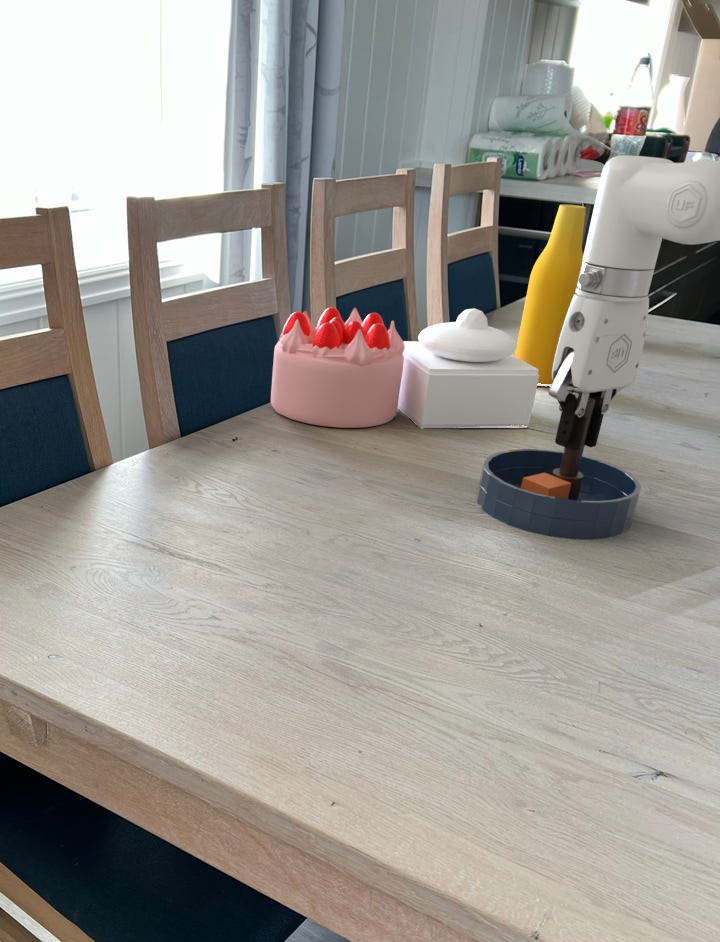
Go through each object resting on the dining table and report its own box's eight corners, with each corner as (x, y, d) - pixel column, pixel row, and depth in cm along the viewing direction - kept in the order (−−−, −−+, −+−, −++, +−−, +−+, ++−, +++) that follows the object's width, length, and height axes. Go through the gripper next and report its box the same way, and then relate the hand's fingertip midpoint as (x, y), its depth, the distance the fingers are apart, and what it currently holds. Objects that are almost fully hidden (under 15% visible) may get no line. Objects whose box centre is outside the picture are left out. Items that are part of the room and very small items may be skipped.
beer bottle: (559, 377, 179) (597, 205, 164) (565, 390, 171) (605, 211, 156) (508, 372, 180) (541, 201, 165) (511, 384, 172) (547, 206, 157)
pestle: (584, 499, 118) (608, 401, 112) (564, 503, 116) (588, 404, 110) (560, 489, 121) (583, 393, 115) (541, 493, 119) (563, 396, 113)
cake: (371, 392, 162) (383, 303, 155) (415, 429, 145) (430, 332, 138) (257, 392, 158) (263, 301, 151) (288, 431, 141) (297, 330, 134)
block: (564, 514, 117) (571, 483, 115) (542, 520, 115) (549, 488, 113) (537, 503, 119) (544, 472, 118) (516, 509, 117) (522, 477, 115)
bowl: (661, 526, 117) (672, 487, 114) (561, 555, 108) (572, 513, 105) (543, 477, 130) (551, 441, 127) (445, 499, 120) (452, 461, 118)
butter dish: (420, 429, 145) (437, 319, 137) (381, 395, 161) (394, 295, 153) (528, 428, 149) (550, 321, 141) (479, 395, 164) (497, 297, 156)
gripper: (594, 292, 99) (554, 464, 108) (687, 285, 108) (643, 446, 117) (537, 279, 105) (504, 444, 114) (630, 273, 113) (592, 428, 122)
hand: (575, 444), depth 115 cm, fingers closed on pestle, 2 cm apart
